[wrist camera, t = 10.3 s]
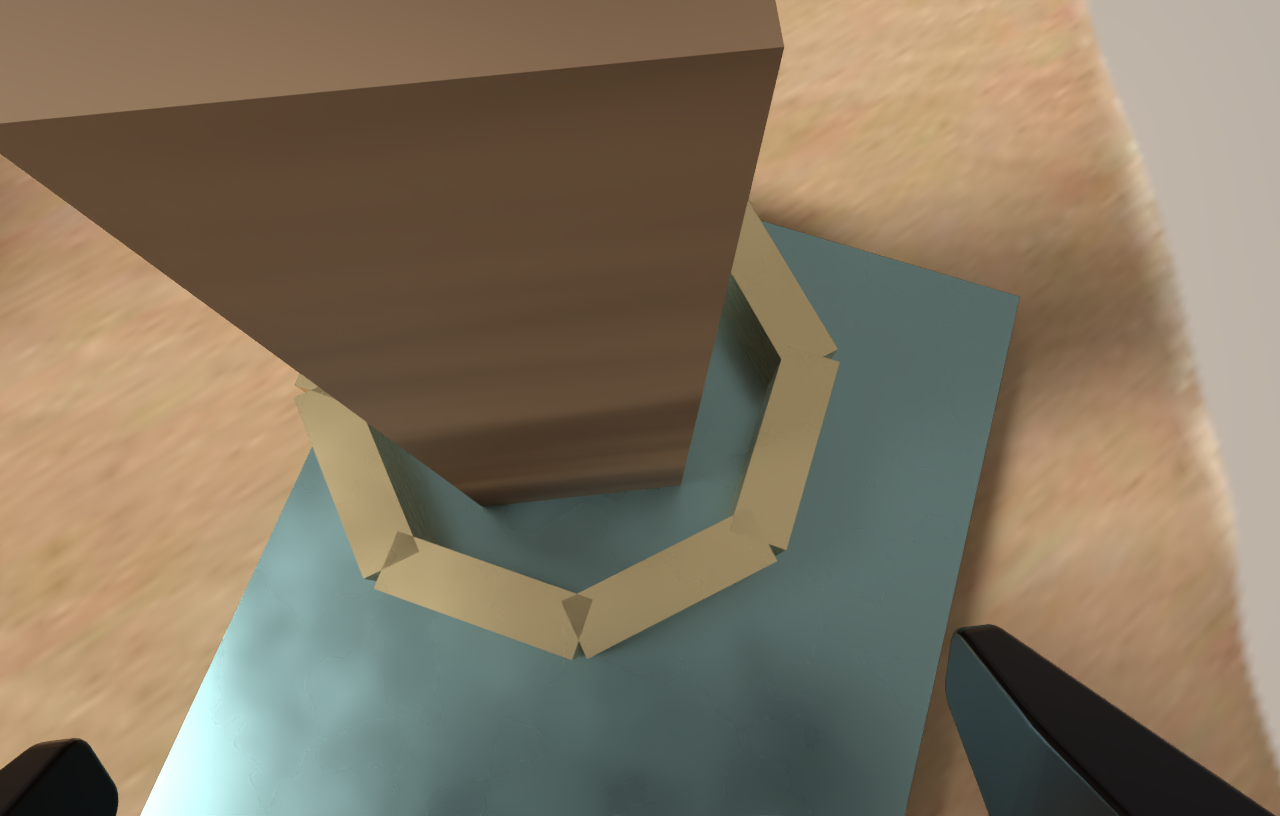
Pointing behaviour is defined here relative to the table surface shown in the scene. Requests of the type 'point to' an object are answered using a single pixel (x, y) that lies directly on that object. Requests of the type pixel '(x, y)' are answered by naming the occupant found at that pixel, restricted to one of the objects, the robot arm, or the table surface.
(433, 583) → the socket plate
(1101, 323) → the table surface
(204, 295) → the peg
